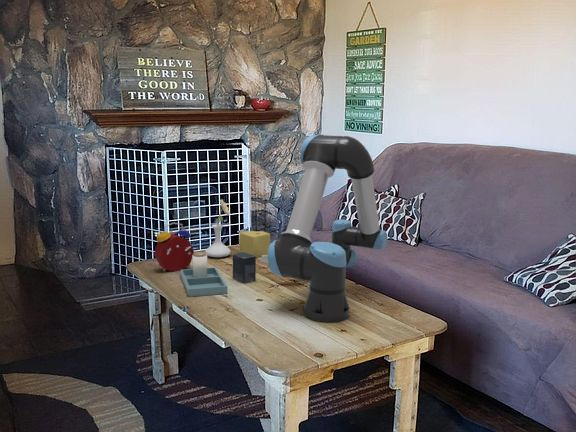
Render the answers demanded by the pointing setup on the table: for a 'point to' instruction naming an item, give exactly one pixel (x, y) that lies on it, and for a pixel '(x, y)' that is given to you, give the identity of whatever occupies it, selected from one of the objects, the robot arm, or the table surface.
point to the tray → (204, 283)
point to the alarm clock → (173, 250)
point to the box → (244, 267)
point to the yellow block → (254, 242)
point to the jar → (199, 264)
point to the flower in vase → (218, 247)
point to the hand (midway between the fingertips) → (265, 263)
